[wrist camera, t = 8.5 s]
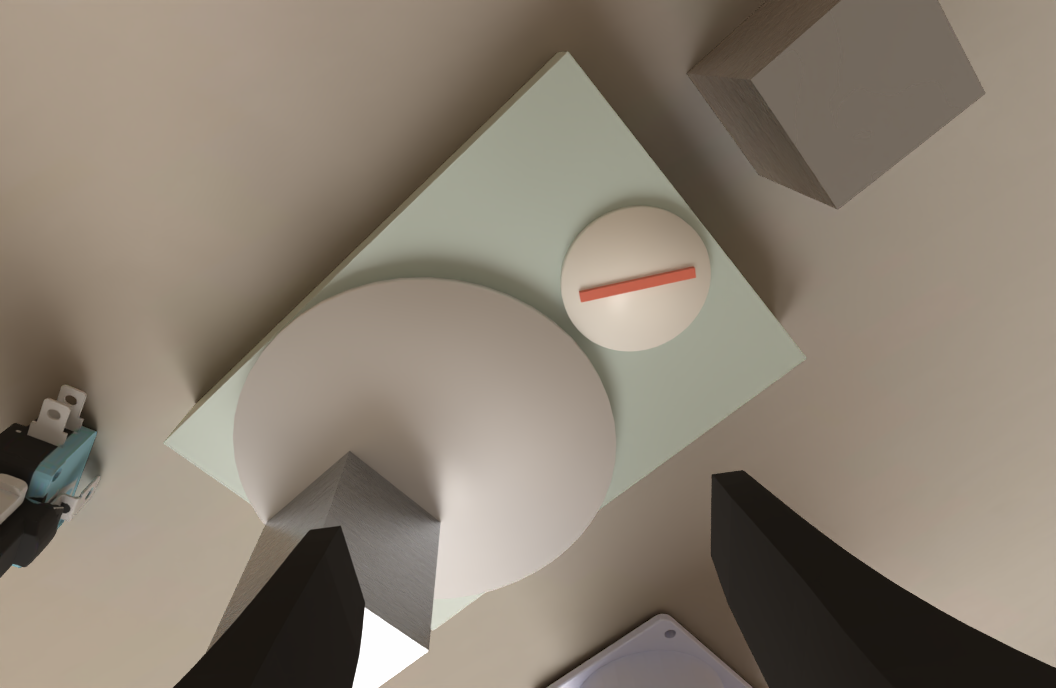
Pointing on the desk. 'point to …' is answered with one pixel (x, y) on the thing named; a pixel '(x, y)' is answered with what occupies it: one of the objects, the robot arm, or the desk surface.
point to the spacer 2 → (836, 89)
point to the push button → (42, 477)
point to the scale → (503, 345)
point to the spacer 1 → (360, 561)
